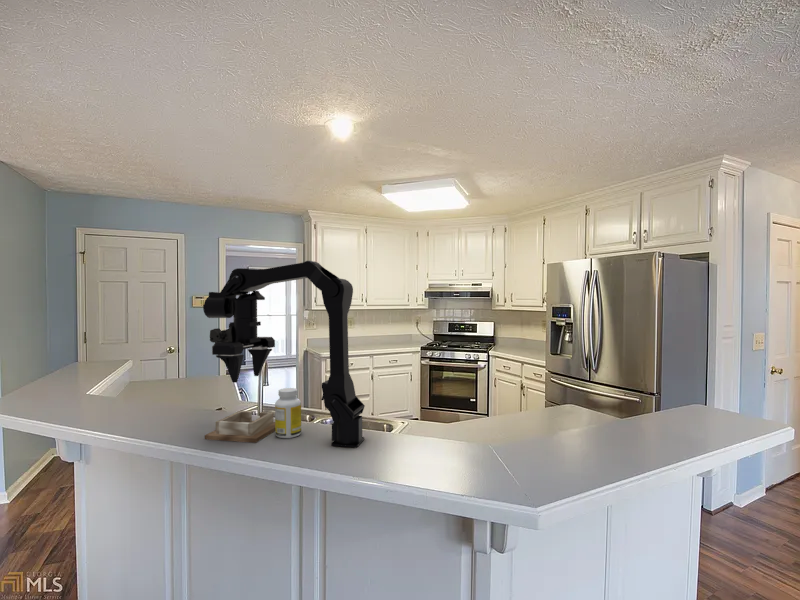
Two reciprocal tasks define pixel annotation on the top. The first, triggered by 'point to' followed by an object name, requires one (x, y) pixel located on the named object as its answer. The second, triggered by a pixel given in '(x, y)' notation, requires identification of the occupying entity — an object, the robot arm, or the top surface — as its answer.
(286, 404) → the pill bottle
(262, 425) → the pocket tray
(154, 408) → the top surface
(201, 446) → the top surface
